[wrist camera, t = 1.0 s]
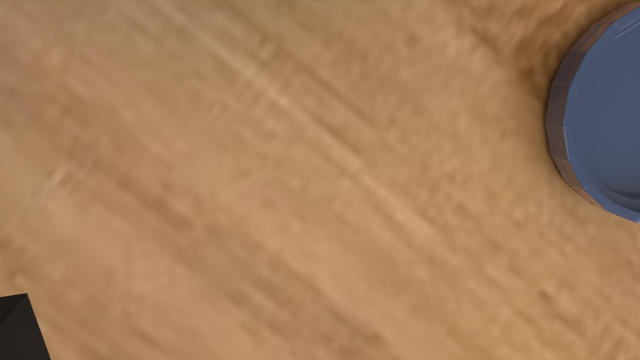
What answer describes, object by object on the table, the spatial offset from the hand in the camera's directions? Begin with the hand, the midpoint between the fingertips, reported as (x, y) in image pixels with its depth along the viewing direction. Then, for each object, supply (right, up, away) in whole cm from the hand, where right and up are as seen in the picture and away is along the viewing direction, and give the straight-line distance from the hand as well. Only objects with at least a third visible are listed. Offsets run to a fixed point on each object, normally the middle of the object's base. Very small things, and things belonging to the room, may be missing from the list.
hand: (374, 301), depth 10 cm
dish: (+19, +7, +21) cm, 30 cm away
